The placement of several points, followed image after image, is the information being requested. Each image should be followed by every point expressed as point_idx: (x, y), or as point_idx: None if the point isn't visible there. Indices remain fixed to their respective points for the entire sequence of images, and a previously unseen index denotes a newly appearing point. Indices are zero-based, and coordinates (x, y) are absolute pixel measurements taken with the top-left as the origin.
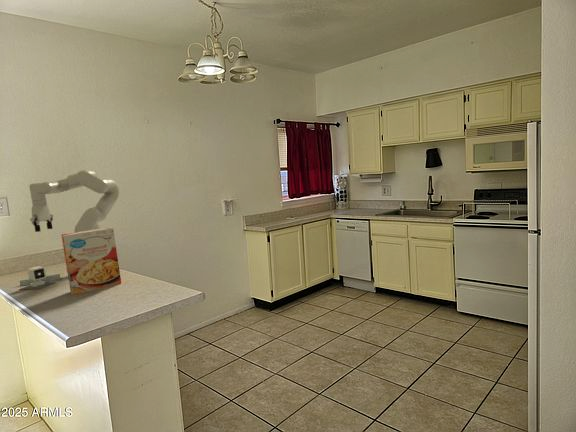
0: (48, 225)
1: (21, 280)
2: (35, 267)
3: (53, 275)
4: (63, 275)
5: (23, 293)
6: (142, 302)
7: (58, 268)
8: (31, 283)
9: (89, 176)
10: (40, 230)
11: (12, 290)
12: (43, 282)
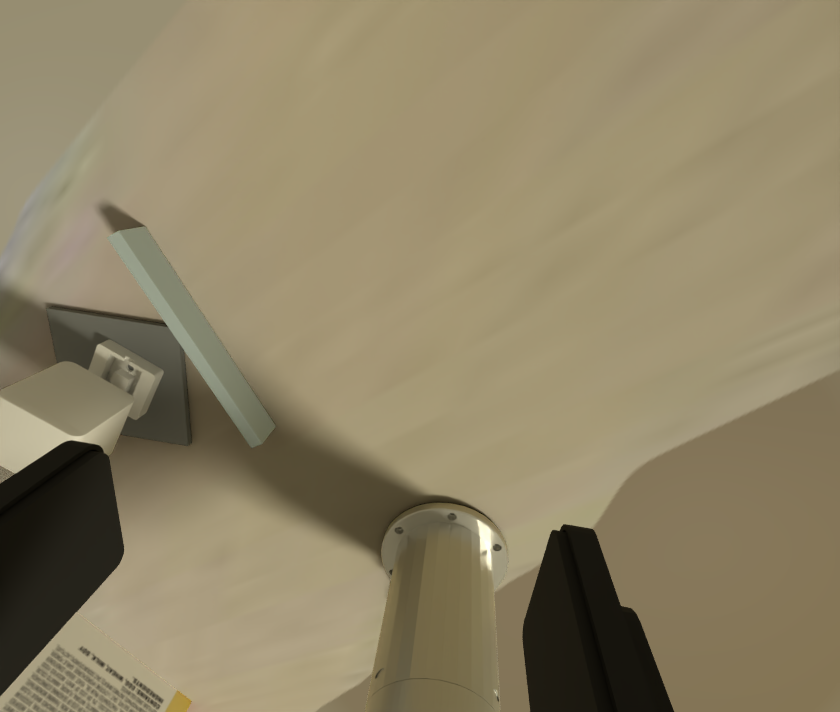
0: (561, 682)
1: (116, 248)
2: (34, 437)
3: (233, 418)
4: (356, 401)
5: (6, 380)
6: None
7: (653, 198)
8: (103, 349)
9: None
10: (105, 573)
11: (45, 254)
12: (129, 415)
